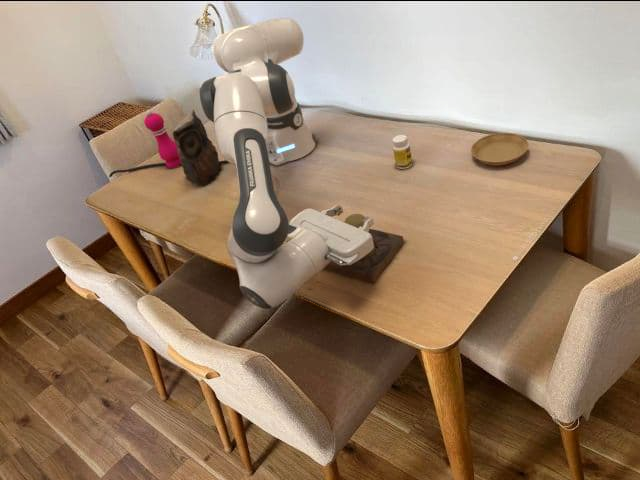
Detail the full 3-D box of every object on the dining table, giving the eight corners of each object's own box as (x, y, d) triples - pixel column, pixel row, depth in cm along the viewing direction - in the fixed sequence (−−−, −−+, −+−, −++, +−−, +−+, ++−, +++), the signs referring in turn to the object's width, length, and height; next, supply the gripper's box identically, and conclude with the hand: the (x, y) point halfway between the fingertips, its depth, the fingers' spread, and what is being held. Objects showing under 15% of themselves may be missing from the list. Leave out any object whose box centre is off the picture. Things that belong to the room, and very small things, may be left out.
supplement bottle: (411, 168, 139) (407, 142, 134) (395, 170, 141) (389, 143, 135) (413, 159, 143) (409, 133, 137) (397, 160, 144) (392, 134, 139)
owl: (221, 161, 168) (195, 105, 155) (231, 175, 159) (205, 117, 146) (185, 176, 166) (157, 121, 152) (194, 192, 157) (164, 135, 143)
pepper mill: (190, 158, 175) (163, 104, 162) (177, 169, 171) (148, 115, 158) (175, 157, 178) (147, 105, 165) (162, 168, 174) (132, 115, 161)
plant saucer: (460, 159, 137) (459, 151, 136) (496, 135, 142) (496, 127, 141) (502, 176, 127) (502, 168, 126) (540, 150, 132) (540, 141, 131)
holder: (322, 268, 117) (320, 262, 115) (354, 230, 124) (352, 224, 123) (374, 283, 109) (372, 276, 108) (404, 242, 117) (403, 235, 116)
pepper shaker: (351, 249, 119) (339, 213, 112) (375, 244, 119) (366, 207, 112) (352, 266, 115) (341, 229, 108) (378, 260, 114) (368, 223, 107)
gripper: (342, 256, 95) (388, 216, 101) (276, 224, 108) (320, 190, 114) (349, 279, 99) (393, 239, 106) (285, 246, 112) (328, 212, 118)
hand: (355, 213), depth 110 cm, fingers open, 8 cm apart
